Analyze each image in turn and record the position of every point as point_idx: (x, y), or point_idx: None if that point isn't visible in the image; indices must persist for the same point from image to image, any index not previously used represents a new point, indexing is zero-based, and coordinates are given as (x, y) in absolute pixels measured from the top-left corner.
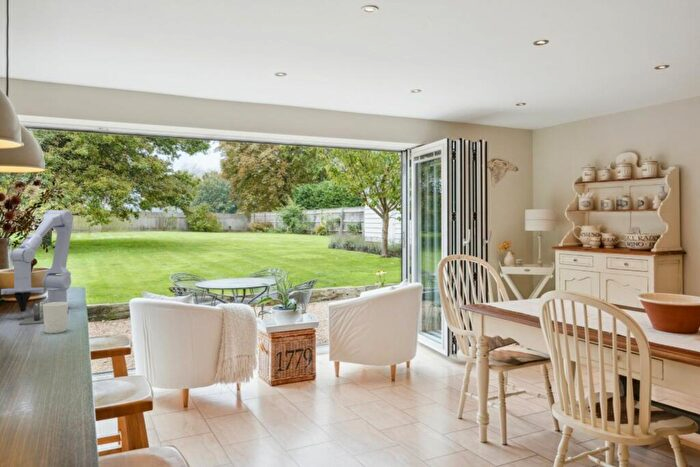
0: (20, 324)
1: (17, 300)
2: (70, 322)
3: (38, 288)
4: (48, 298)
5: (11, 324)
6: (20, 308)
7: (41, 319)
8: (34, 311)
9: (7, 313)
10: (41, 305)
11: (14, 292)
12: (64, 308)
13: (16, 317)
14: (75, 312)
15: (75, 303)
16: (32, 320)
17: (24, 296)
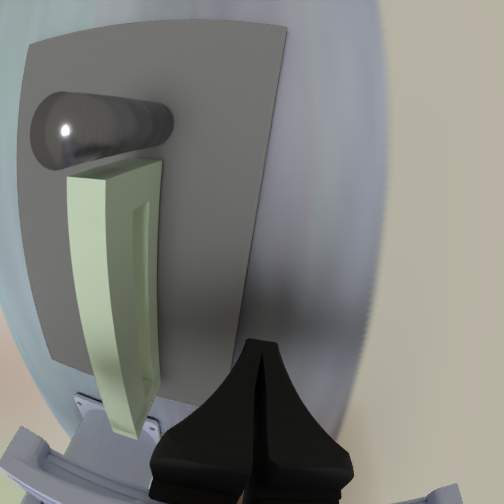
0: (278, 28)
1: (310, 420)
2: (8, 40)
3: (32, 487)
4: (134, 480)
5: (347, 95)
6: (278, 358)
7: None
8: (131, 104)
9: None
10: (78, 292)
11: None
12: None
13: (300, 364)
14: (26, 332)
15: None
16: (185, 130)
17: (220, 444)
